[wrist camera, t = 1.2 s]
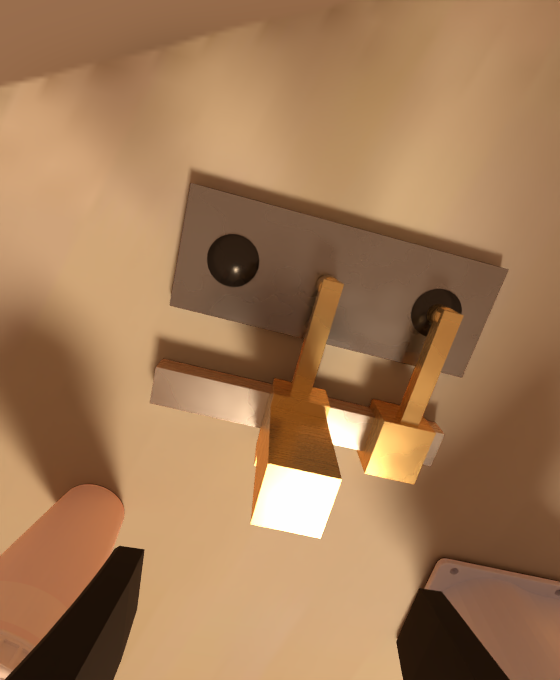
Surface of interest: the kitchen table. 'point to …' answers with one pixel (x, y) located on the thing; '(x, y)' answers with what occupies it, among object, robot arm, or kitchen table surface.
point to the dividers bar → (332, 405)
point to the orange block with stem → (299, 437)
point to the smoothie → (53, 567)
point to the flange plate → (316, 261)
